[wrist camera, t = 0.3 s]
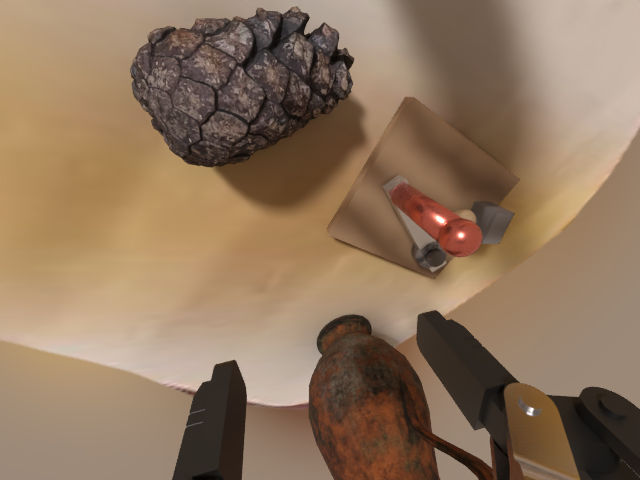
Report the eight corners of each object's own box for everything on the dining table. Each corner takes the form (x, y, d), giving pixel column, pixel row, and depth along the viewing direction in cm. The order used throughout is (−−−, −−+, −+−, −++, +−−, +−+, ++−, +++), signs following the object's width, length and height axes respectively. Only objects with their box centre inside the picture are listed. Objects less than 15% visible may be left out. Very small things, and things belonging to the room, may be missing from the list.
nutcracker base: (405, 97, 28) (436, 97, 23) (508, 175, 36) (549, 189, 31) (326, 228, 35) (337, 252, 30) (428, 271, 42) (450, 295, 37)
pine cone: (351, 101, 27) (390, 104, 19) (205, 170, 28) (179, 204, 20) (314, -26, 22) (346, -101, 13) (134, 65, 23) (56, 48, 14)
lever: (445, 253, 38) (524, 323, 26) (419, 268, 38) (486, 344, 27) (406, 168, 30) (495, 216, 18) (374, 190, 30) (441, 250, 19)
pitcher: (284, 359, 47) (307, 676, 21) (336, 271, 39) (474, 613, 13) (358, 369, 53) (444, 625, 27) (417, 294, 45) (617, 560, 19)
